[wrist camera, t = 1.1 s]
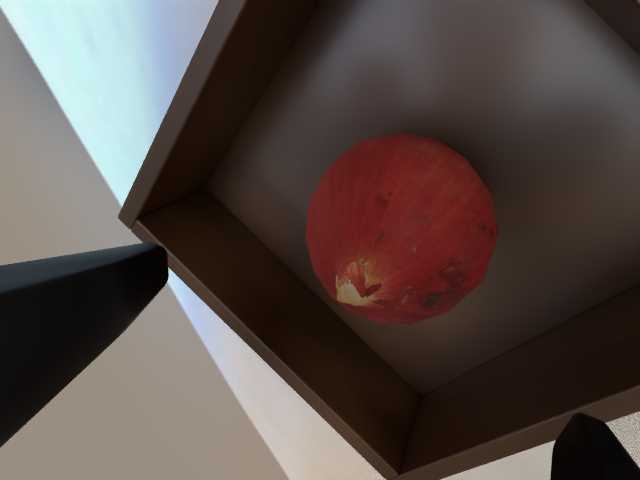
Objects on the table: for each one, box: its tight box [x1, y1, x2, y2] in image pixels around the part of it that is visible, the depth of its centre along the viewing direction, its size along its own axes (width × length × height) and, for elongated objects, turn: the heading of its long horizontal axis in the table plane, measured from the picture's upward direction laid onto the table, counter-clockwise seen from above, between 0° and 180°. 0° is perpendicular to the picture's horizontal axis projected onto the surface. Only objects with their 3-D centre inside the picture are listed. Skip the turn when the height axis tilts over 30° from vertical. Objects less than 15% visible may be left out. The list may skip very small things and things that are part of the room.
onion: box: [306, 133, 499, 325], centre depth 13 cm, size 6×6×8 cm
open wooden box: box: [118, 0, 640, 480], centre depth 14 cm, size 17×17×5 cm
